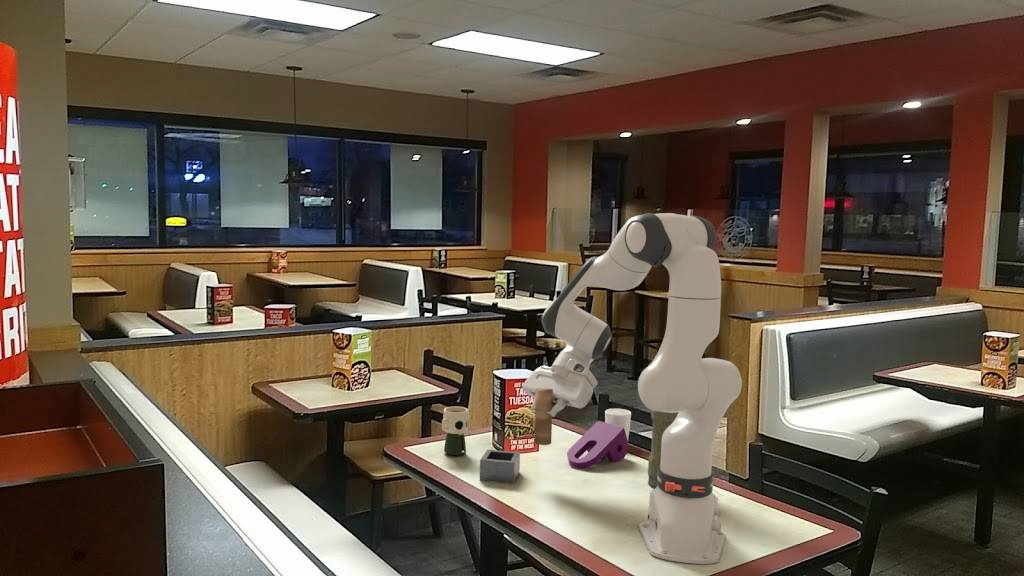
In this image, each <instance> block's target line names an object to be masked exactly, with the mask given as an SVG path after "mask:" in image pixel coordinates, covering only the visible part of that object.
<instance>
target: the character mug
mask: <svg viewBox="0 0 1024 576" xmlns="http://www.w3.org/2000/svg"><path fill="white" fill-rule="evenodd" d="M442 417H443V419H442V421H441V429H442V431H443V432H445V433H446V437H445V441H444V449H443V452H444V453H446V454H449V455H450V456H461V455H463V454H466V453H467V448H466V446H467V444H466V439H465V438H466V437H465V434H466V433H467V432H468V430H469V423H470V413H469V409H468V408H466V407H464V406H448V407H444V409H443V416H442ZM464 433H465V434H464Z"/></svg>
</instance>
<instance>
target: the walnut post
mask: <svg viewBox="0 0 1024 576" xmlns="http://www.w3.org/2000/svg"><path fill="white" fill-rule="evenodd" d="M553 403H554V402H553V389H551V388H536V399H535V412H534V434H533V436H534V437H533V438H534V439H533V443H534V444H535V445H539V446H549V445H551V444H552V430H553V429H552V427H553V417H552V416H549V415H548V414H547V411H548V410H549V408H550V407H552V408H553Z"/></svg>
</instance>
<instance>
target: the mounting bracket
mask: <svg viewBox="0 0 1024 576" xmlns="http://www.w3.org/2000/svg"><path fill="white" fill-rule="evenodd" d="M628 450H629V439H628V440H627V437H626V433H625V429H624V428H623V427H619V426H616V425H612V424H609V423H605V421H601V420H598V421H596V422H595V423H594V424H593V425H592V426H591V427H590V428H589V429H588V430H587V432H585V433H584V434H583V435H582V436H581V437H580V438H578V440H577V441H575V443H574V444H573V445H572V446H571V447H570V448H569V449H568V450H567V453H566V456H567V460H568V462H569V465H570V466H571V465H572V467H573V466H574V468H576V467H577V468H578V469H581V470H582V469H588V468H591V467H593V466H595V465H596V464H598V463H599V462H600V461H601V460H602V459H603V458H604V456H605V458H606V459H607V460H608V461H612V462H615V463H618V462H620V461H623V460H624V458H625V457H626V456H627V453H628ZM586 452H587V453H586ZM585 453H586V454H585ZM584 454H585V455H584ZM583 455H584V456H583ZM582 456H583V457H582ZM580 457H581V458H580ZM617 461H618V462H617Z"/></svg>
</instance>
